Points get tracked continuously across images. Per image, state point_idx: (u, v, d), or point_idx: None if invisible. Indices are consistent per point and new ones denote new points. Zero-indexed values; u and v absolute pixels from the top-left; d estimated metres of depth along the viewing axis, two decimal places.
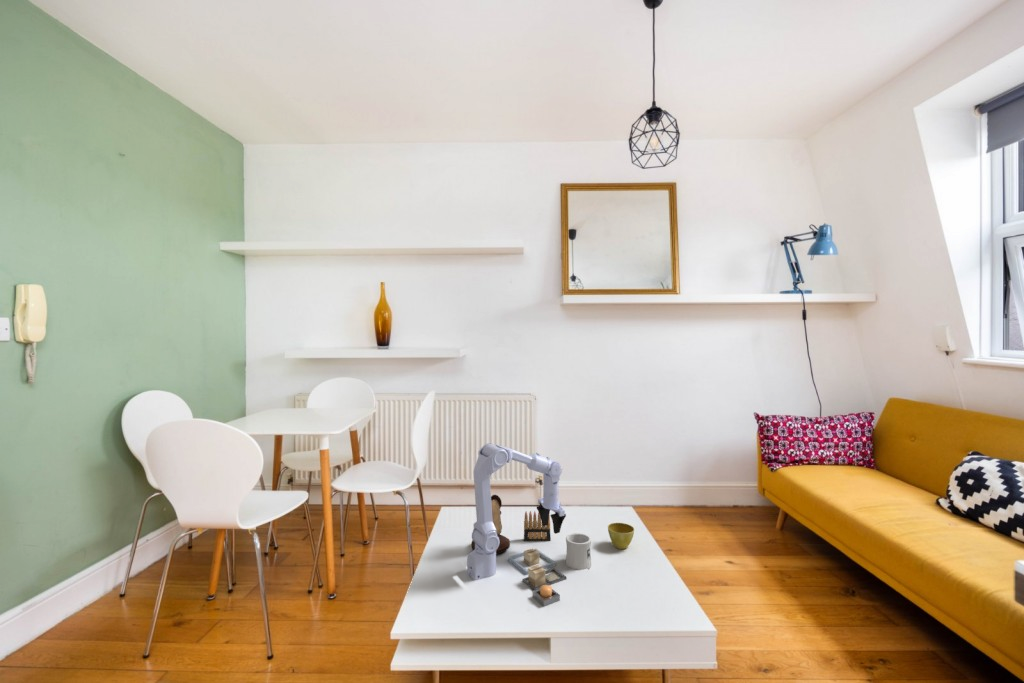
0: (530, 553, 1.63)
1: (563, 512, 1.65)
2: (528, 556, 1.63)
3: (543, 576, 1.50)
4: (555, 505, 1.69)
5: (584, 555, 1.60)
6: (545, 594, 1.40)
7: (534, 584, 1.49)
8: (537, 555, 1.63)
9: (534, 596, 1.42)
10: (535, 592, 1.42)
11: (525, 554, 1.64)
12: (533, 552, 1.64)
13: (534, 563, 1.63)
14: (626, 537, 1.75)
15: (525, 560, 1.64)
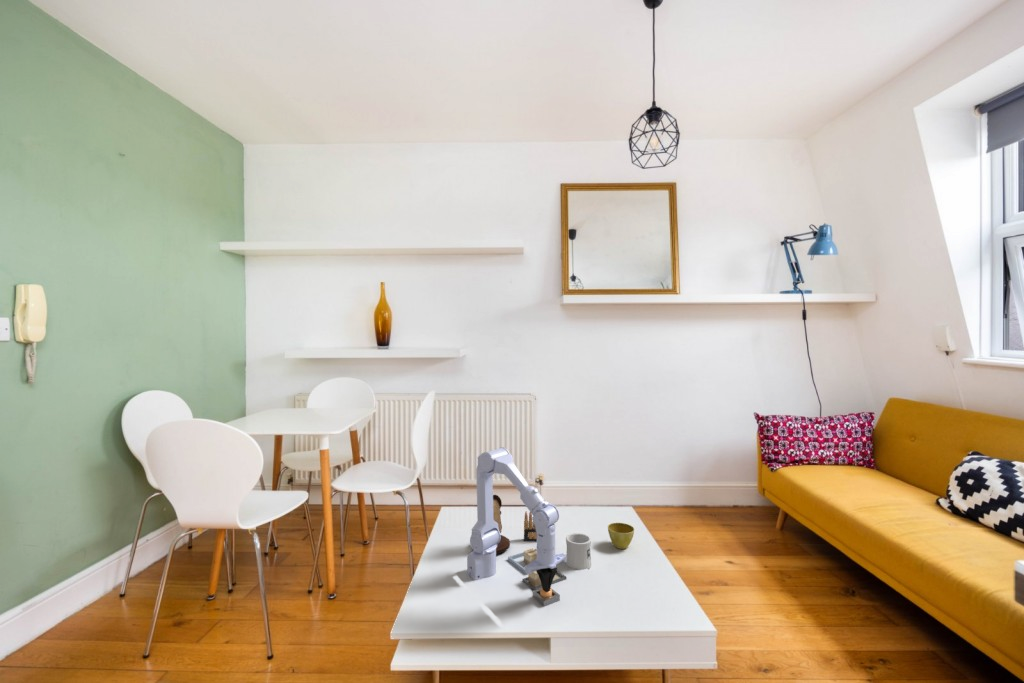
0: (530, 553, 1.63)
1: (527, 569, 1.38)
2: (528, 556, 1.63)
3: None
4: (538, 561, 1.40)
5: (584, 555, 1.60)
6: (545, 596, 1.40)
7: (534, 584, 1.49)
8: None
9: (534, 596, 1.42)
10: (535, 592, 1.42)
11: (525, 554, 1.64)
12: (533, 552, 1.64)
13: None
14: (626, 537, 1.75)
15: (525, 560, 1.64)
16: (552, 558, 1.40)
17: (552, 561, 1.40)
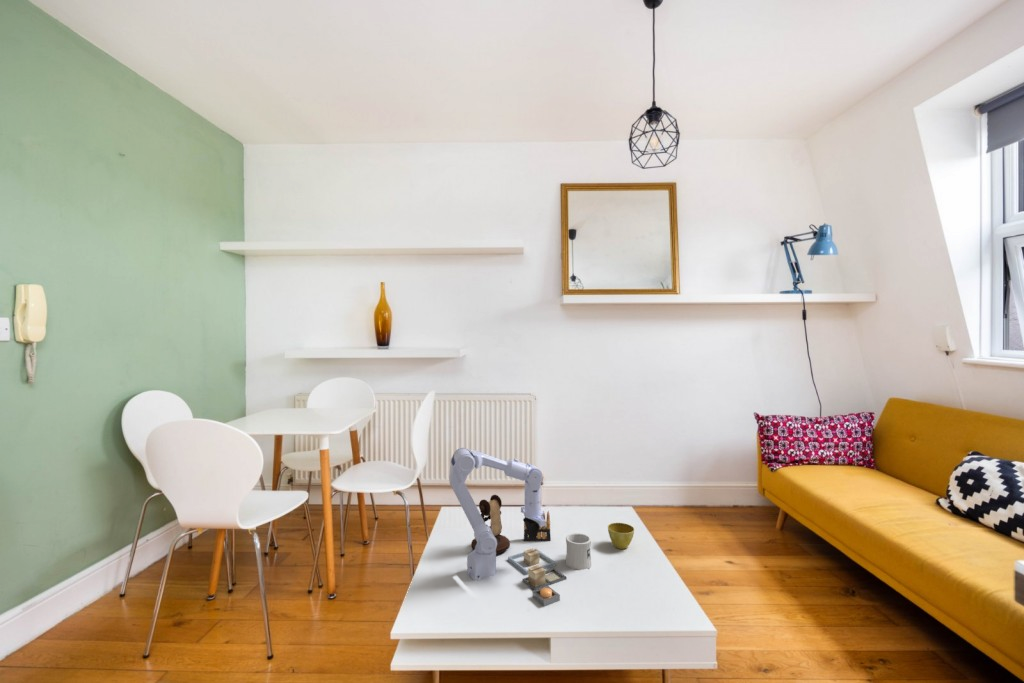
0: (530, 553, 1.63)
1: (544, 522, 1.56)
2: (528, 556, 1.63)
3: (543, 576, 1.50)
4: (536, 514, 1.59)
5: (584, 555, 1.60)
6: (545, 597, 1.40)
7: (534, 584, 1.49)
8: (537, 555, 1.63)
9: (534, 596, 1.42)
10: (535, 592, 1.42)
11: (525, 554, 1.64)
12: (533, 552, 1.64)
13: (534, 563, 1.63)
14: (626, 537, 1.75)
15: (525, 560, 1.64)
16: None
17: None
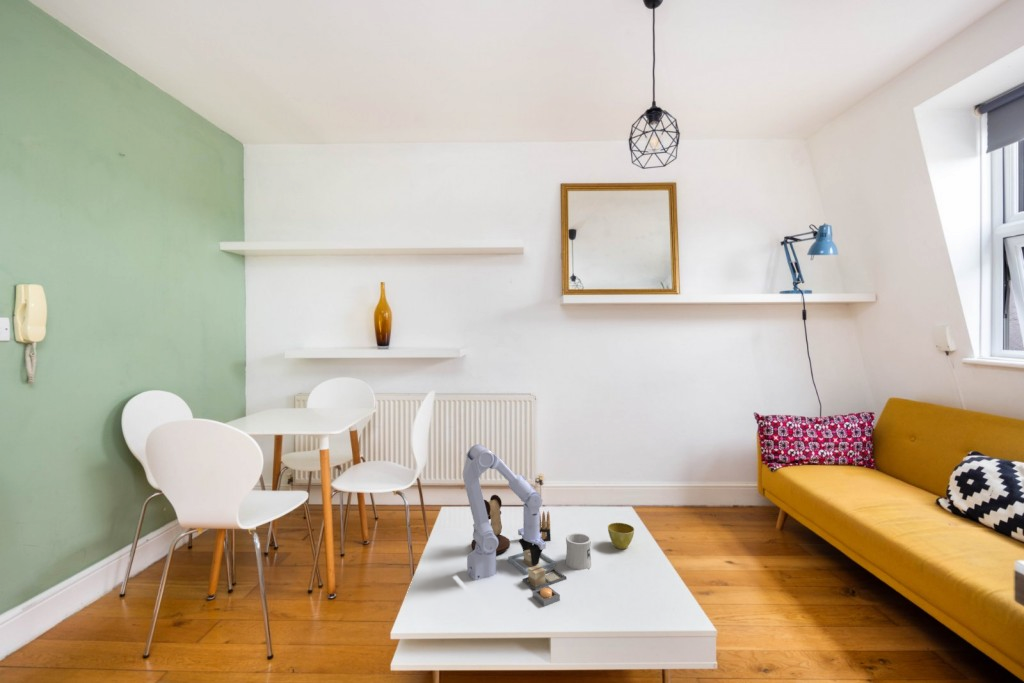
0: (530, 553, 1.63)
1: (544, 545, 1.58)
2: (528, 556, 1.63)
3: (543, 576, 1.50)
4: (536, 537, 1.62)
5: (584, 555, 1.60)
6: (545, 597, 1.40)
7: (534, 584, 1.49)
8: None
9: (534, 596, 1.42)
10: (535, 592, 1.42)
11: (525, 554, 1.64)
12: None
13: None
14: (626, 537, 1.75)
15: (525, 560, 1.64)
16: None
17: None
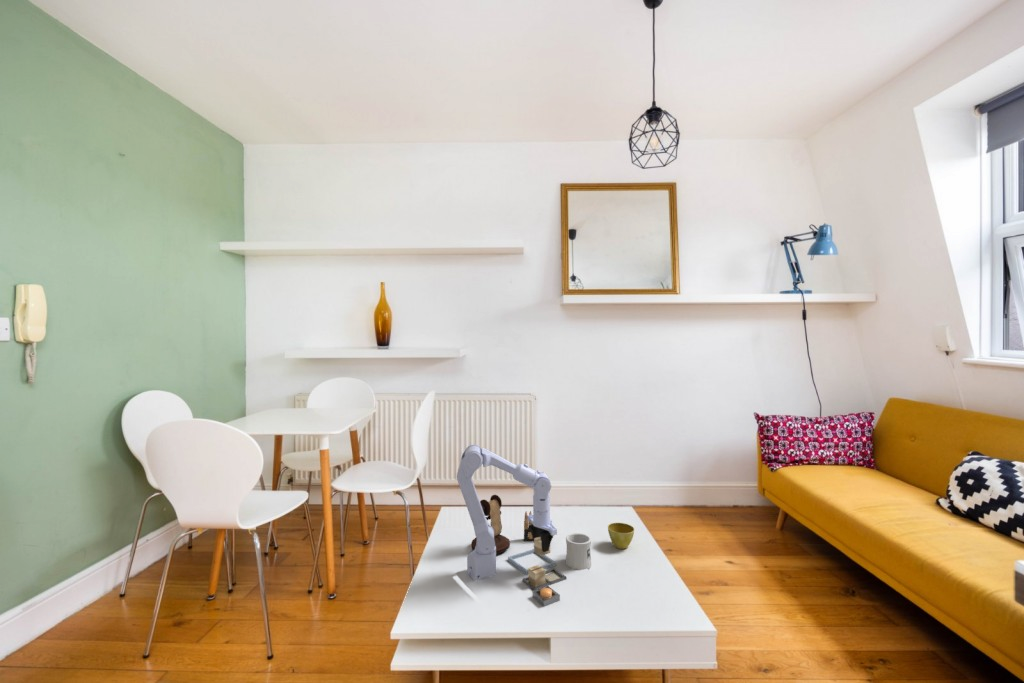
0: None
1: (555, 531, 1.53)
2: (539, 544, 1.58)
3: (543, 576, 1.50)
4: (546, 523, 1.57)
5: (584, 555, 1.60)
6: (545, 597, 1.40)
7: (534, 584, 1.49)
8: None
9: (534, 596, 1.42)
10: (535, 592, 1.42)
11: (536, 541, 1.59)
12: None
13: None
14: (626, 537, 1.75)
15: (536, 548, 1.59)
16: None
17: None
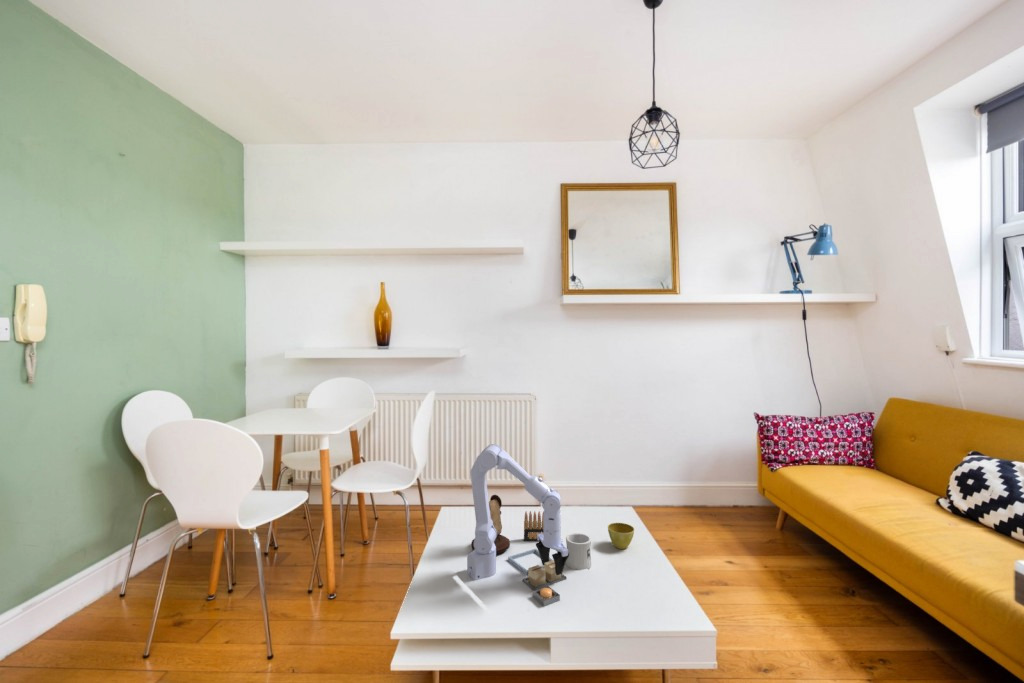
0: (551, 565, 1.53)
1: (566, 552, 1.48)
2: (549, 569, 1.53)
3: (543, 576, 1.50)
4: (557, 543, 1.52)
5: (584, 555, 1.60)
6: (545, 597, 1.40)
7: (534, 584, 1.49)
8: None
9: (534, 596, 1.42)
10: (535, 592, 1.42)
11: (546, 566, 1.54)
12: (554, 564, 1.54)
13: (556, 576, 1.53)
14: (626, 537, 1.75)
15: (546, 572, 1.54)
16: None
17: None
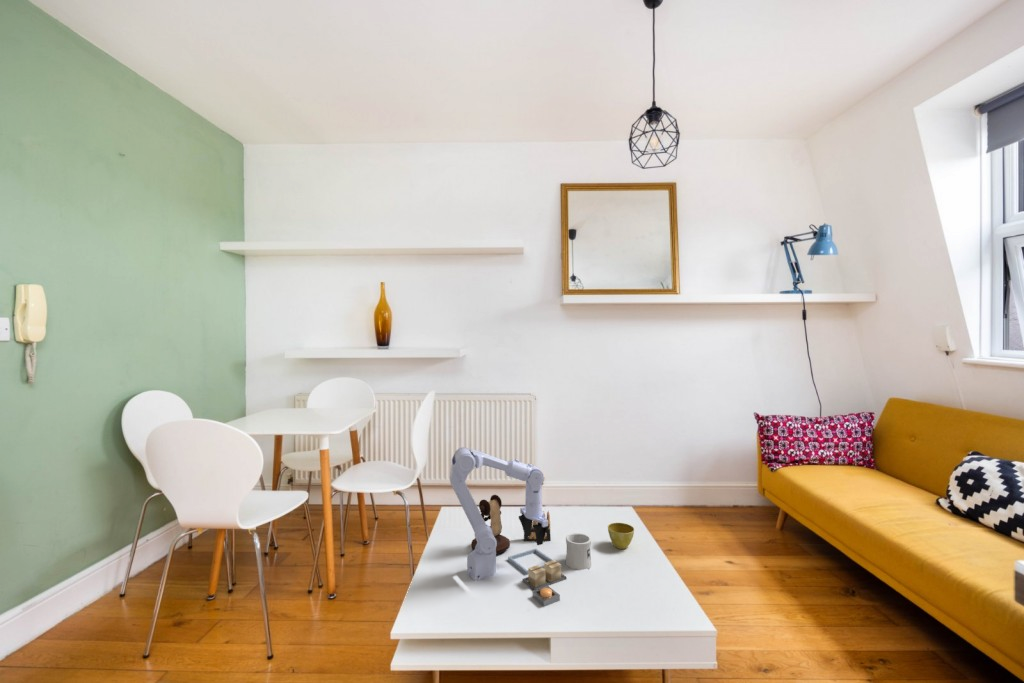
0: (551, 565, 1.53)
1: (546, 522, 1.56)
2: (549, 569, 1.53)
3: (543, 576, 1.50)
4: (538, 515, 1.59)
5: (584, 555, 1.60)
6: (545, 597, 1.40)
7: (534, 584, 1.49)
8: (559, 567, 1.53)
9: (534, 596, 1.42)
10: (535, 592, 1.42)
11: (546, 566, 1.54)
12: (554, 564, 1.54)
13: (556, 576, 1.53)
14: (626, 537, 1.75)
15: (546, 572, 1.54)
16: None
17: None
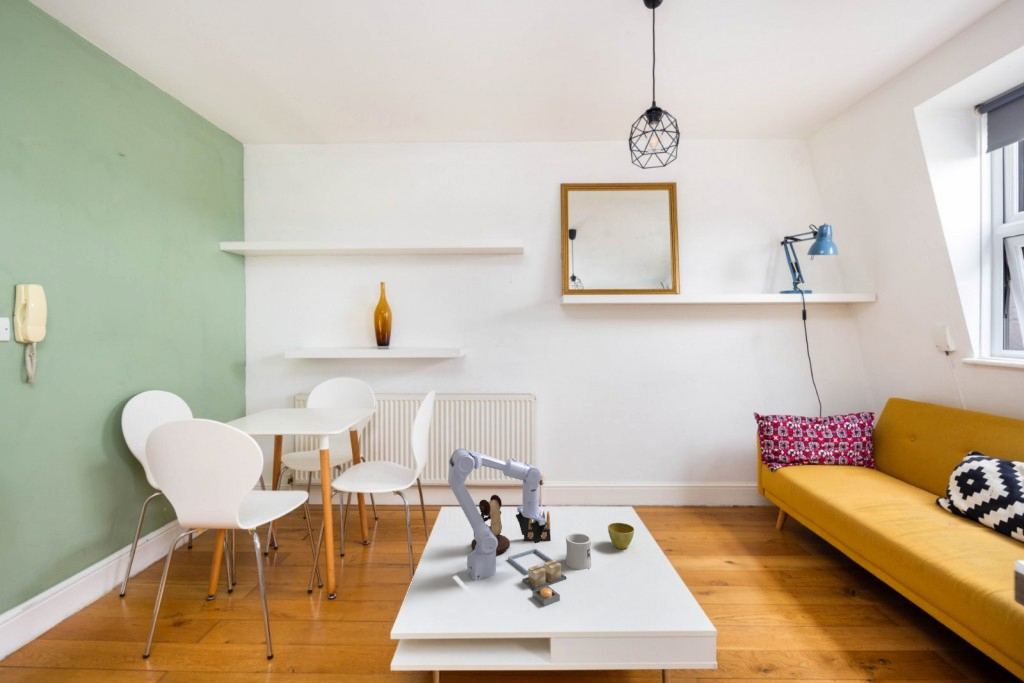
0: (551, 565, 1.53)
1: (543, 521, 1.57)
2: (549, 569, 1.53)
3: (543, 576, 1.50)
4: (535, 513, 1.60)
5: (584, 555, 1.60)
6: (545, 597, 1.40)
7: (534, 584, 1.49)
8: (559, 567, 1.53)
9: (534, 596, 1.42)
10: (535, 592, 1.42)
11: (546, 566, 1.54)
12: (554, 564, 1.54)
13: (556, 576, 1.53)
14: (626, 537, 1.75)
15: (546, 572, 1.54)
16: None
17: None
